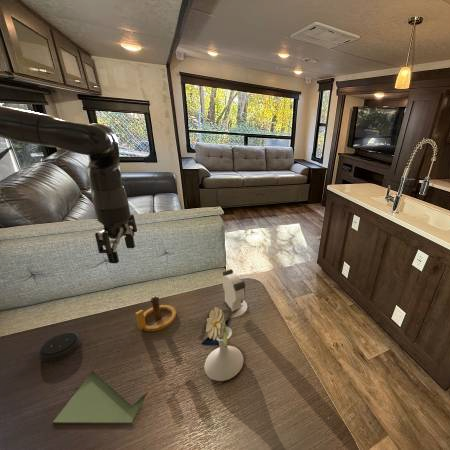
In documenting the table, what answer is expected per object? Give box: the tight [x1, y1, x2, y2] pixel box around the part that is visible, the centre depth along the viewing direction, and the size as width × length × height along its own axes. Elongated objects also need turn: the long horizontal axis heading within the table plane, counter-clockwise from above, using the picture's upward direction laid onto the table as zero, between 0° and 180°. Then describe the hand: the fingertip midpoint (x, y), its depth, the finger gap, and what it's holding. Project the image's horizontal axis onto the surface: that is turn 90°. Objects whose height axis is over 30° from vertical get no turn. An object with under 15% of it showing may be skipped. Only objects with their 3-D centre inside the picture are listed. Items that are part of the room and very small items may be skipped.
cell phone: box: [200, 317, 231, 346], centre depth 88 cm, size 7×14×1 cm, turn 4°
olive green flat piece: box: [52, 370, 149, 424], centre depth 65 cm, size 18×13×1 cm
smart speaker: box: [38, 331, 82, 363], centre depth 74 cm, size 9×9×4 cm
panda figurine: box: [222, 268, 248, 319], centre depth 95 cm, size 12×11×15 cm
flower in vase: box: [204, 307, 244, 382], centre depth 70 cm, size 13×11×25 cm
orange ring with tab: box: [134, 304, 177, 332], centre depth 86 cm, size 11×12×8 cm
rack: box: [148, 295, 172, 326], centre depth 87 cm, size 8×8×11 cm
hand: (123, 254), depth 73 cm, fingers open, 8 cm apart
